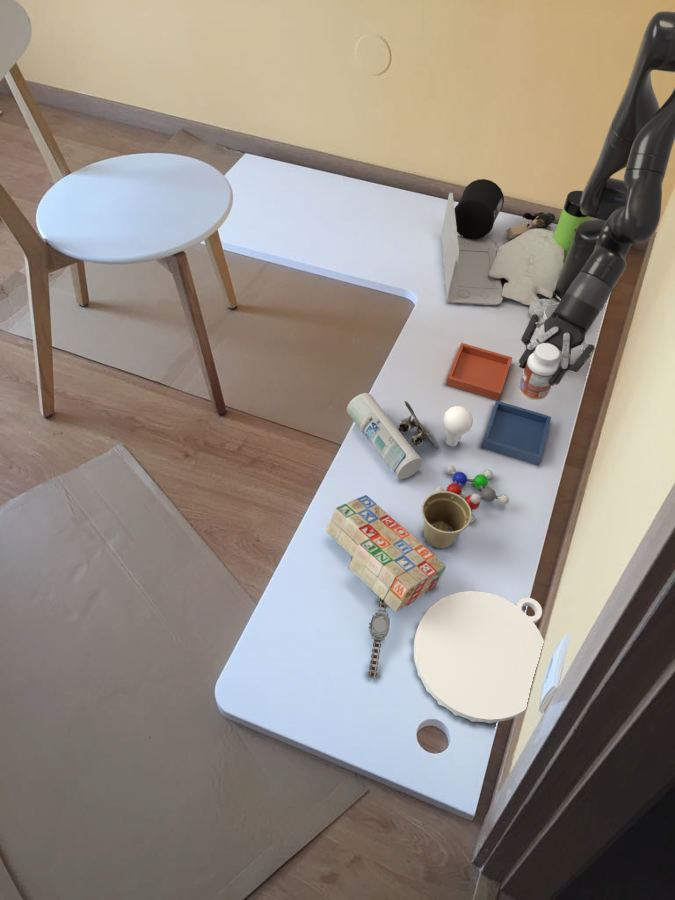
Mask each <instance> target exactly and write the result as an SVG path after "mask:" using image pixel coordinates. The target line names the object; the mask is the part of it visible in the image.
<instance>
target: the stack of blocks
mask: <svg viewBox="0 0 675 900" xmlns="http://www.w3.org/2000/svg"><path fill="white" fill-rule="evenodd" d="M325 533H326V534H327V535H329V536H330V537H331V538H332V539H333V540H334V541H336V543H337V544H338V545H339V546H340V547H341V548H343V550H344V551H345V552H347V553H348V554H349V555H350V556H351V557H352V559H351V561H350V563H349V565H348V566H347V568H348V569H349V570H350V571H351V572H352V573H353V574H355V576H357V578H359V579H360V580H361V581H362V582H363V583H364V584H365V585H366V586H367V587H369V589H371V591H372V592H374V593H375V594H376V595H377V597H379V599H380V598H381V599H382V600H384V602H385V603H386V604H387V607H388V608H390V609H391V610H392V611H393V612H394V613H397V612H398V611H400V610H402V609H403V608H404V607H407V606H409V605H410V604H412V603H414V602H416V600H418V599H419V598H421V597H422V596H423V595H425V594H427V593H429V592H430V591H431V590H433V589H434V588H435V586H436V585H437V583H438V581H439V580H440V579H441V576H442V575H443V573H444V571H445V570H446V568H447V564H445V562H443V561H442V560H440V558H438V557H437V556H436V555H435V554H434V553H433V552H432V551H431V550H430V549H429V548H427V546H425V545H424V544H423V543H422V542H421V541H420V540H419V539H418V538H416V537H415V536H414V535H413V534H411V533H410V532H409V531H408V530H407V529H405V528H404V527H403V526H402V525H401V524H399V523H398V522H397V521H396V520H395V519H394V518H393V517H391V516H390V514H388V513H387V512H386V510H384V509H383V508H382V507H381V506H380V505H379V504H377V503H376V502H375V501H374V500H373V499H372V498H371V497H369V496H368V495H367V494H364V495H363V496H360V497H358V498H355V499H353V500H350V501H348V502H345V503H343V504H342V505H339V506H337V507H335V508H334V511H333V513H332V516H331V518H330V521H329V522H328V524H327V527H326V529H325ZM385 603H384V604H385Z"/></svg>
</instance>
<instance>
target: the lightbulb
mask: <svg viewBox="0 0 675 900" xmlns="http://www.w3.org/2000/svg"><path fill="white" fill-rule="evenodd" d="M442 420H443V422H442V423H443V426H444V428H445V430H446V440H445V442H446V444H447V445H448V446H449V447H456V446H457V445H458V443H459V441H460V440H461V438H462V436H463V435H465V434H466V433H468V432H469V431H470V430H471V428H472V426H473V423H474V419H473V415H472V413H471V411H470V410H469V409H468V408H467V407H465V406H462V405H454V406H451V407H450V408H448V409H447V410H446V411H445V413H444V415H443V417H442Z"/></svg>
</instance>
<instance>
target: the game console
mask: <svg viewBox="0 0 675 900" xmlns="http://www.w3.org/2000/svg"><path fill="white" fill-rule="evenodd" d="M441 228H442V229H441V232H440V240H441V251H442V261H443V262H442V263H443V274H444V283H445V285H444V286H445V296H446V297H445V298H446V303H447V304H448V303H451V304H469V305H484V306H499V305H501V304H502V302H503V299H504V296H502V290H503V286H502V278H493V277H491V276H489V271H490V269H491V267H492V264H493V263H494V261H495V259H496V256H497V248H496V245H495V243H494V242H493V240H492V239H490V238H488V237H483V238H480V239H468V238H464V237H463V236H461V235H458V232H457V227H456V218H455V201H454V193H453V192H449V193H448V197H447V202H446V207H445V213H444V217H443V223H442V227H441Z"/></svg>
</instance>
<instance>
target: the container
mask: <svg viewBox="0 0 675 900" xmlns="http://www.w3.org/2000/svg"><path fill="white" fill-rule="evenodd" d="M504 203H505V197H504V193H503V191H502V188H501V187H500V186H499V184H497V183H496V182H494V181H492V180H489V179H486V178H480V179H476V180H473V181H471V182H470V183H469V184H467V185H466V186H465V188H464V190H463V192H462V195H461V197H460V199H459V201H458V203H457V204H456V206H454V209H455V218H456V227H457V234H458V235H459V236H461V237H464V238H468V239H480V238H486V236H488V235H489V234H490V233H491V231H492V230H493V228H494V226H495V225H494V224H495V222H496V220H497V219H498V216H499V214H500V213H501V211H502V209H503V208H504Z"/></svg>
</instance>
